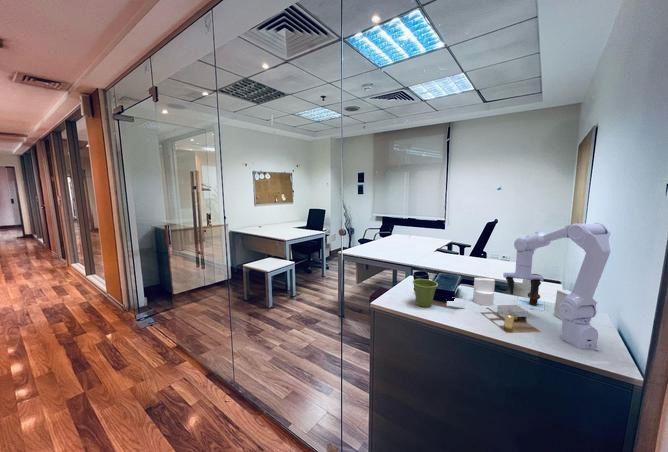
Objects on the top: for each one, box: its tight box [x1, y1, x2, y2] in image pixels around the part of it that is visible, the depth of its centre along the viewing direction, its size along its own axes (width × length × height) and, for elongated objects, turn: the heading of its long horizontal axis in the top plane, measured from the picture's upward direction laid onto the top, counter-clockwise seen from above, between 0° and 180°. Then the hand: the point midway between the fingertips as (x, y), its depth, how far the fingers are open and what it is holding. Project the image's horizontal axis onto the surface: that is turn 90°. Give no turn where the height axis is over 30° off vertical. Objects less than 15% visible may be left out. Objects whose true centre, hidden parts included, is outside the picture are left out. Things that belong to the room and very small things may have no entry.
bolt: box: [527, 273, 543, 306], centre depth 131 cm, size 6×5×15 cm
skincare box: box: [553, 289, 572, 321], centre depth 117 cm, size 6×4×12 cm
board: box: [480, 307, 542, 334], centre depth 115 cm, size 23×15×3 cm, turn 2°
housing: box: [496, 304, 529, 322], centre depth 115 cm, size 7×8×4 cm
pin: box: [503, 314, 514, 332], centre depth 105 cm, size 3×3×6 cm
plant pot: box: [412, 278, 439, 308], centre depth 132 cm, size 12×12×11 cm
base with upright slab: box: [472, 277, 496, 307], centre depth 135 cm, size 9×9×12 cm
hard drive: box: [445, 297, 466, 310], centre depth 133 cm, size 2×8×12 cm
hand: (521, 294), depth 119 cm, fingers open, 7 cm apart
